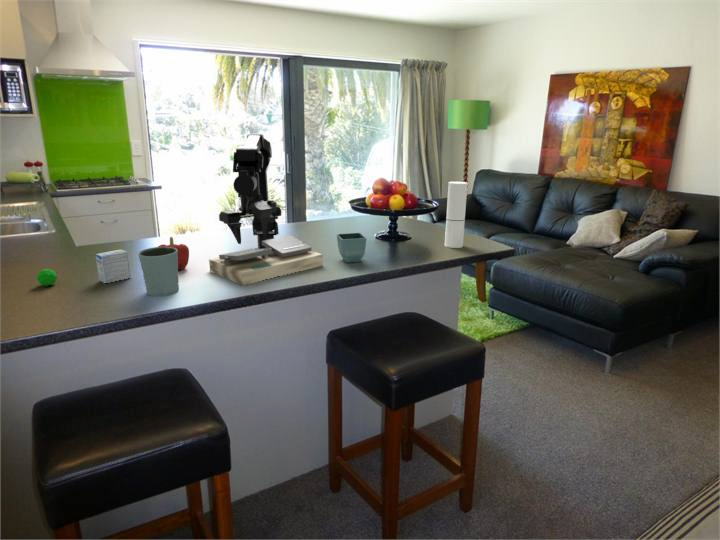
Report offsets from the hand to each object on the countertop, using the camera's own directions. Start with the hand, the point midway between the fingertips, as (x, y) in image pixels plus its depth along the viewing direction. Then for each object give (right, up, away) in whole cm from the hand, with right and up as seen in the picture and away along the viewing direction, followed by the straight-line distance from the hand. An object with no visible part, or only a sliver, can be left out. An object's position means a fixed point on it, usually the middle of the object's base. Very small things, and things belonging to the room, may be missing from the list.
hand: (252, 241), depth 150 cm
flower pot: (+30, -6, +22) cm, 38 cm away
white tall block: (+71, +1, +44) cm, 83 cm away
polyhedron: (-59, -13, -7) cm, 61 cm away
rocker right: (+8, -1, +15) cm, 17 cm away
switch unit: (+2, -8, +12) cm, 15 cm away
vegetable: (-28, -9, +10) cm, 31 cm away
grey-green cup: (-23, -15, -11) cm, 30 cm away
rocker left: (-3, -4, +5) cm, 7 cm away
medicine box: (-42, -12, -2) cm, 43 cm away
